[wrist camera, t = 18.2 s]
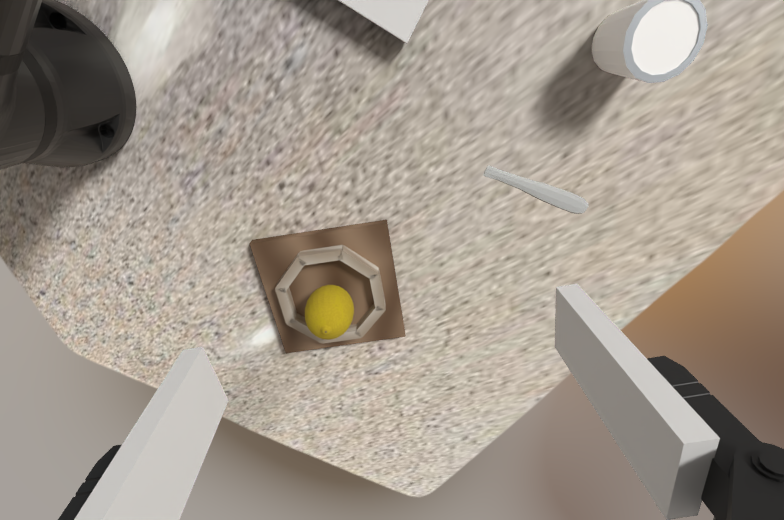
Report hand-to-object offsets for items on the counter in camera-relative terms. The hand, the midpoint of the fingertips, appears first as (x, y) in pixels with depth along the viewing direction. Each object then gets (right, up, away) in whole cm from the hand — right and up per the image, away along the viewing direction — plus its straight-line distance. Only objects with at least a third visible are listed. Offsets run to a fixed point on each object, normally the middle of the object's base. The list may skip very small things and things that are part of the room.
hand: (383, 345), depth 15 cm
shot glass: (+23, +25, +25) cm, 42 cm away
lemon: (-7, -1, +35) cm, 35 cm away
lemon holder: (-7, 0, +36) cm, 36 cm away
